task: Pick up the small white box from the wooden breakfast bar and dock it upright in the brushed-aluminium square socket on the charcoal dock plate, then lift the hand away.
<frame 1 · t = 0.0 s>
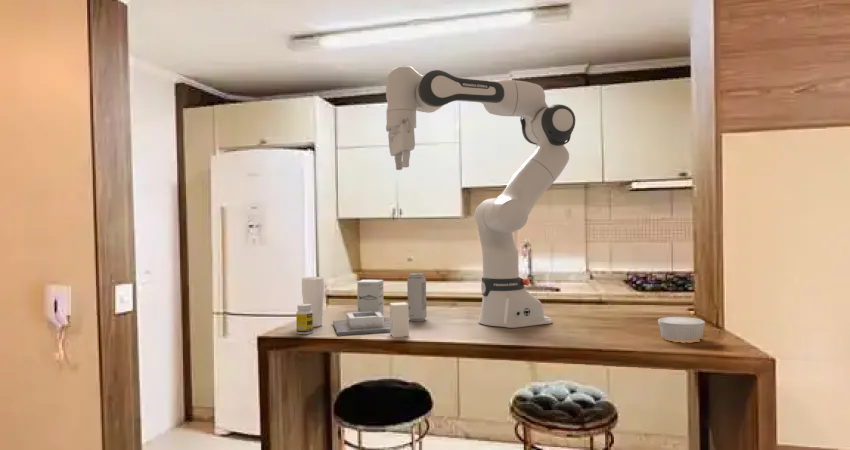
hand: (402, 168, 168), 48 cm above the table, fingers open, 8 cm apart
supplement box: (370, 318, 188), on the table
drinking glass: (313, 326, 176), on the table
ramekin: (681, 340, 149), on the table
small white box: (399, 335, 160), on the table
energy drink can: (417, 320, 183), on the table
supplement bottle: (304, 333, 166), on the table
dock socket: (364, 327, 172), on the table
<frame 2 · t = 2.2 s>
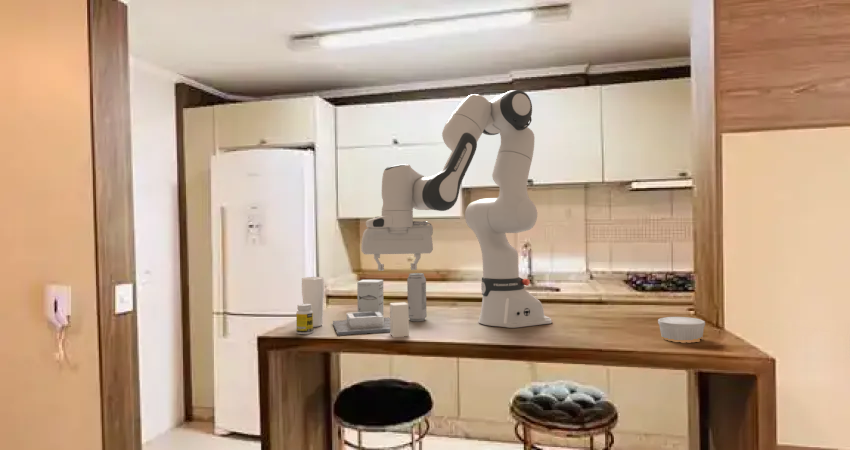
hand: (397, 270, 160), 19 cm above the table, fingers open, 8 cm apart
nothing on the table moved.
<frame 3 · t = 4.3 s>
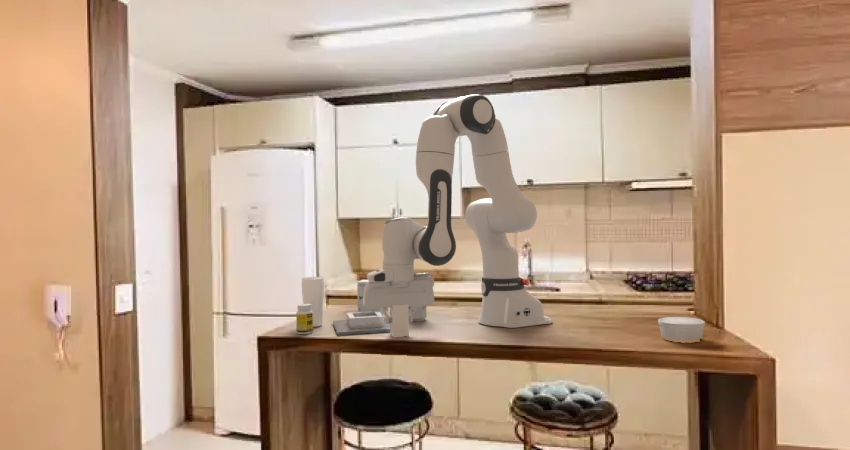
hand: (399, 322, 160), 4 cm above the table, fingers closed on small white box, 4 cm apart
small white box: (399, 335, 160), on the table, touching gripper
everything else where it was.
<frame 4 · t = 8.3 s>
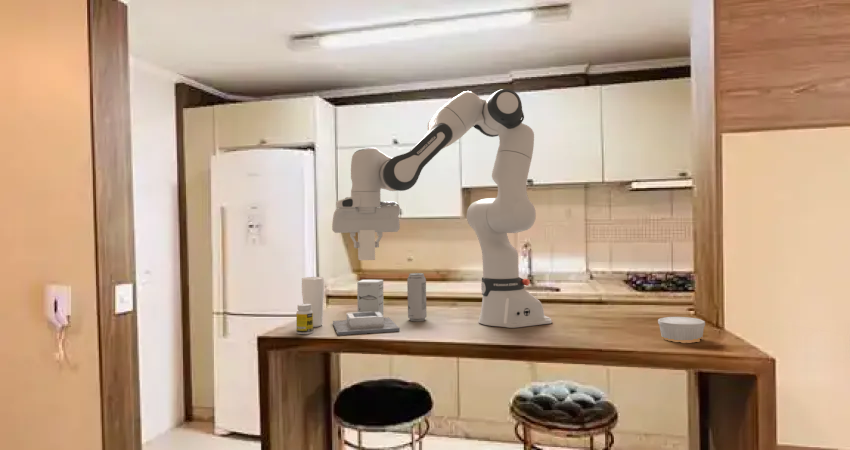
hand: (366, 247, 170), 25 cm above the table, fingers closed on small white box, 4 cm apart
small white box: (366, 259, 170), point 21 cm above the table, touching gripper
everything else where it was.
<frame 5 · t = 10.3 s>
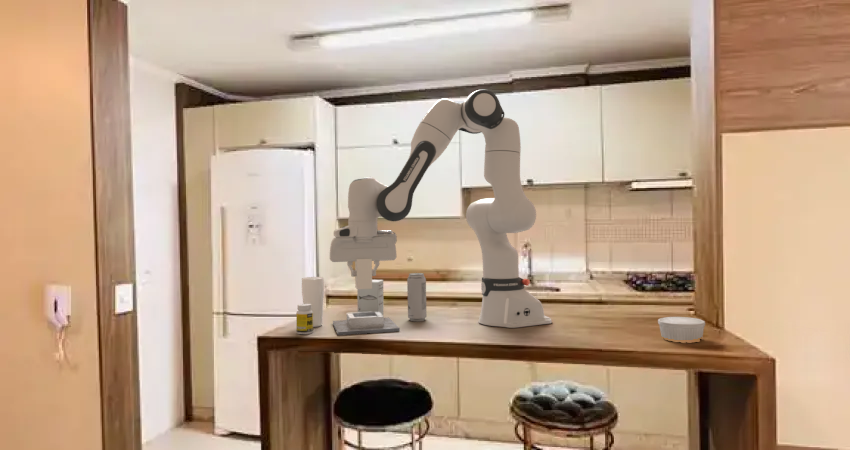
hand: (363, 276, 172), 16 cm above the table, fingers closed on small white box, 4 cm apart
small white box: (363, 288, 172), point 12 cm above the table, touching gripper
everything else where it was.
when the fingers open (7 cm above the table, at t = 12.3 s): small white box drops 2 cm, resting on dock socket.
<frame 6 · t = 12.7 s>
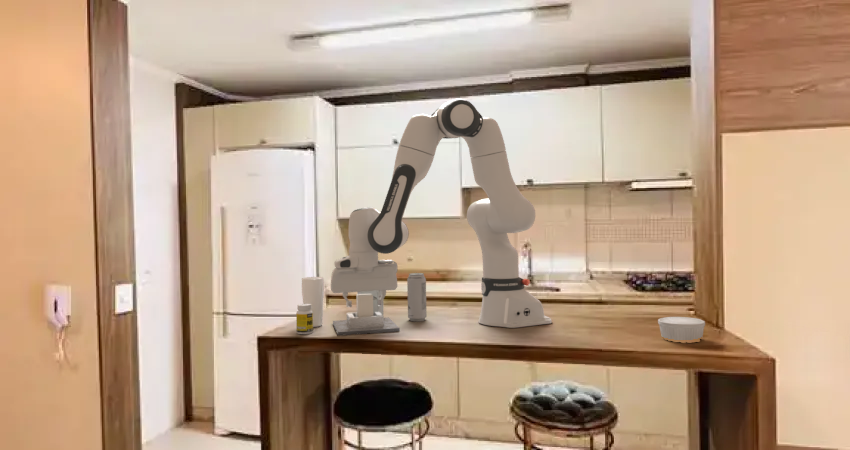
hand: (364, 306, 172), 7 cm above the table, fingers open, 8 cm apart
small white box: (365, 324, 172), point 1 cm above the table, touching dock socket
everything else where it was.
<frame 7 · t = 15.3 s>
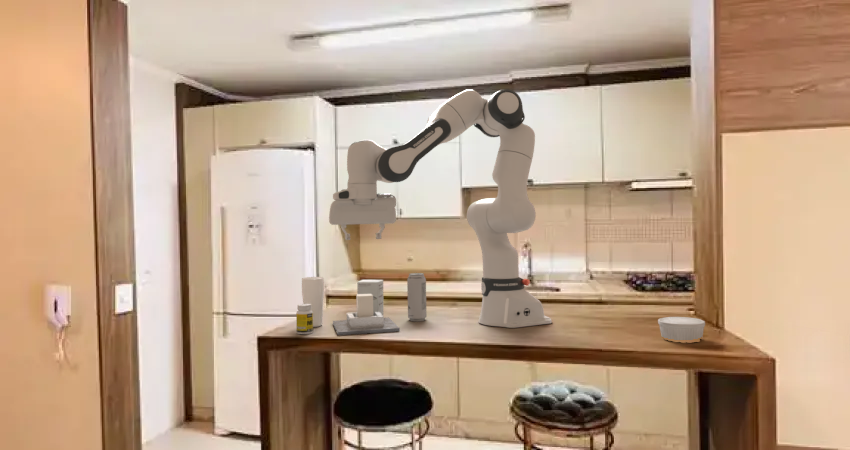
hand: (363, 239, 172), 27 cm above the table, fingers open, 8 cm apart
nothing on the table moved.
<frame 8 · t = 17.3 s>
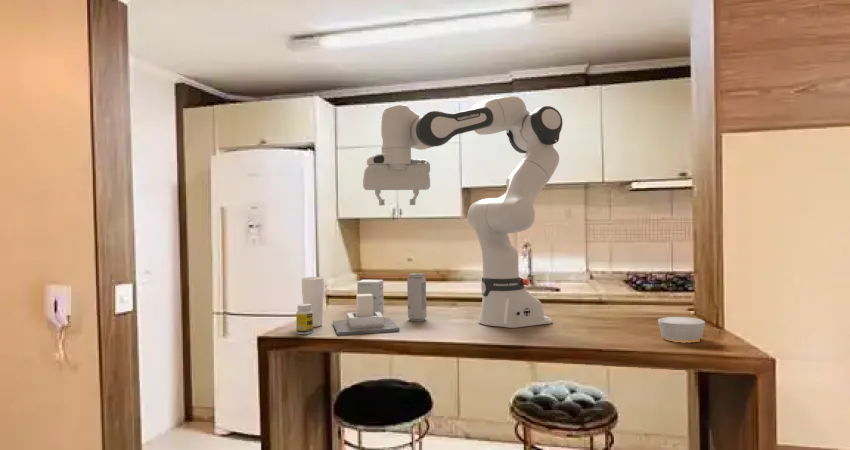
hand: (397, 205, 170), 37 cm above the table, fingers open, 8 cm apart
nothing on the table moved.
at the end: small white box 0.1 cm off-centre on the dock socket, point 1.0 cm above the dock socket's base; small white box tilted 0°; the gripper is holding nothing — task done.
